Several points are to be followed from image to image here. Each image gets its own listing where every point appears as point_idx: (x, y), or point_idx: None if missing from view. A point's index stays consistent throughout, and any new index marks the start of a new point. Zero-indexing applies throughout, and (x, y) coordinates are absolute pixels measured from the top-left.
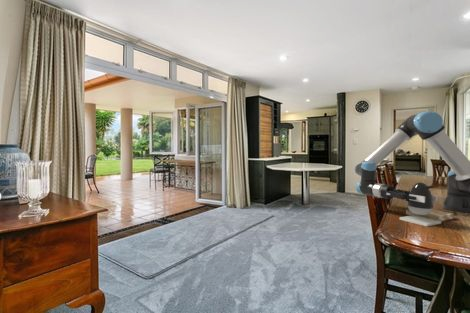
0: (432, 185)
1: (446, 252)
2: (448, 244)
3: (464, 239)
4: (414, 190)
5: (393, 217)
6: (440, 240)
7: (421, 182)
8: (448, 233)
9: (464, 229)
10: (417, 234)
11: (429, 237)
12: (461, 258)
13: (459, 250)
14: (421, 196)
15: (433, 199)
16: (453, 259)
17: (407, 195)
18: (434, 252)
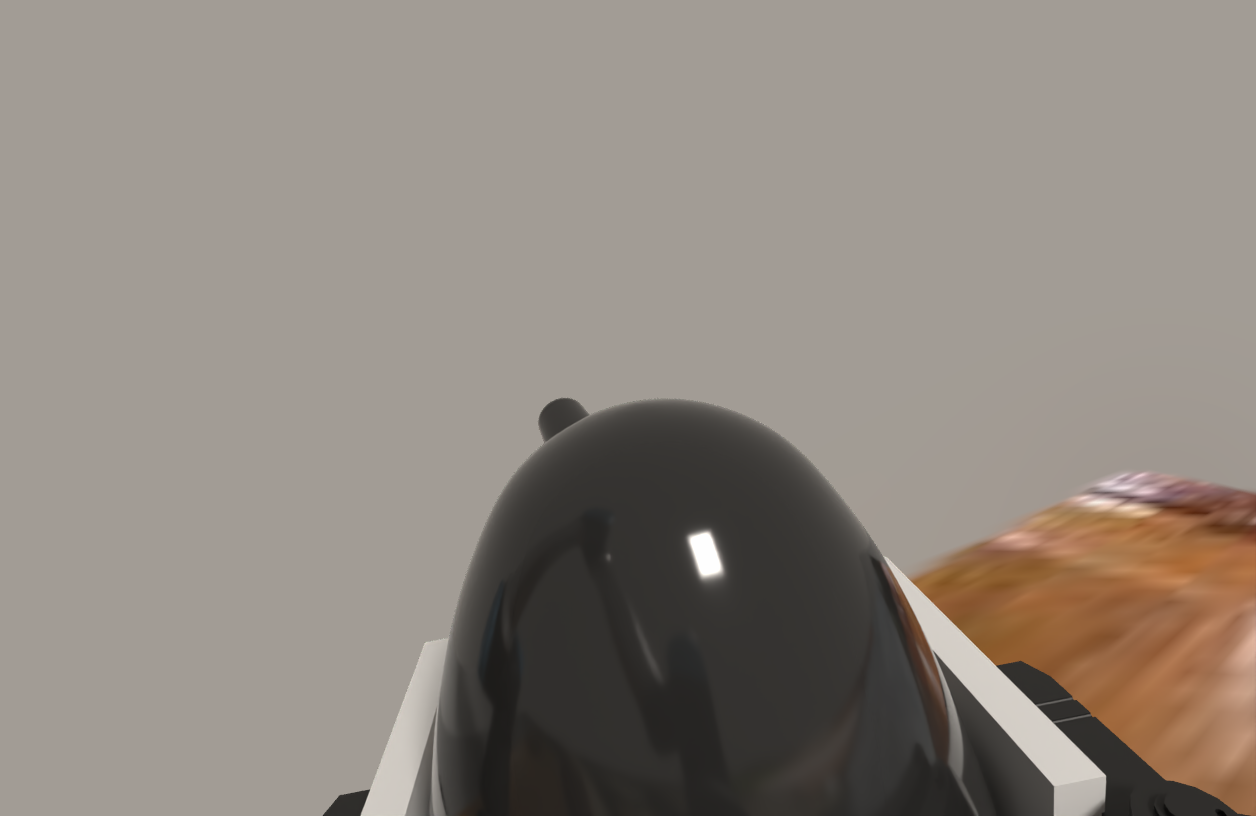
0: (578, 404)
1: (1165, 511)
2: (1061, 566)
3: None
4: (920, 625)
5: None
6: (1070, 606)
7: (630, 403)
8: None
9: None
10: (1232, 707)
11: (1133, 648)
12: (1123, 482)
13: (1057, 522)
14: (909, 585)
15: None
16: (1178, 477)
17: (1181, 808)
18: (1250, 511)
